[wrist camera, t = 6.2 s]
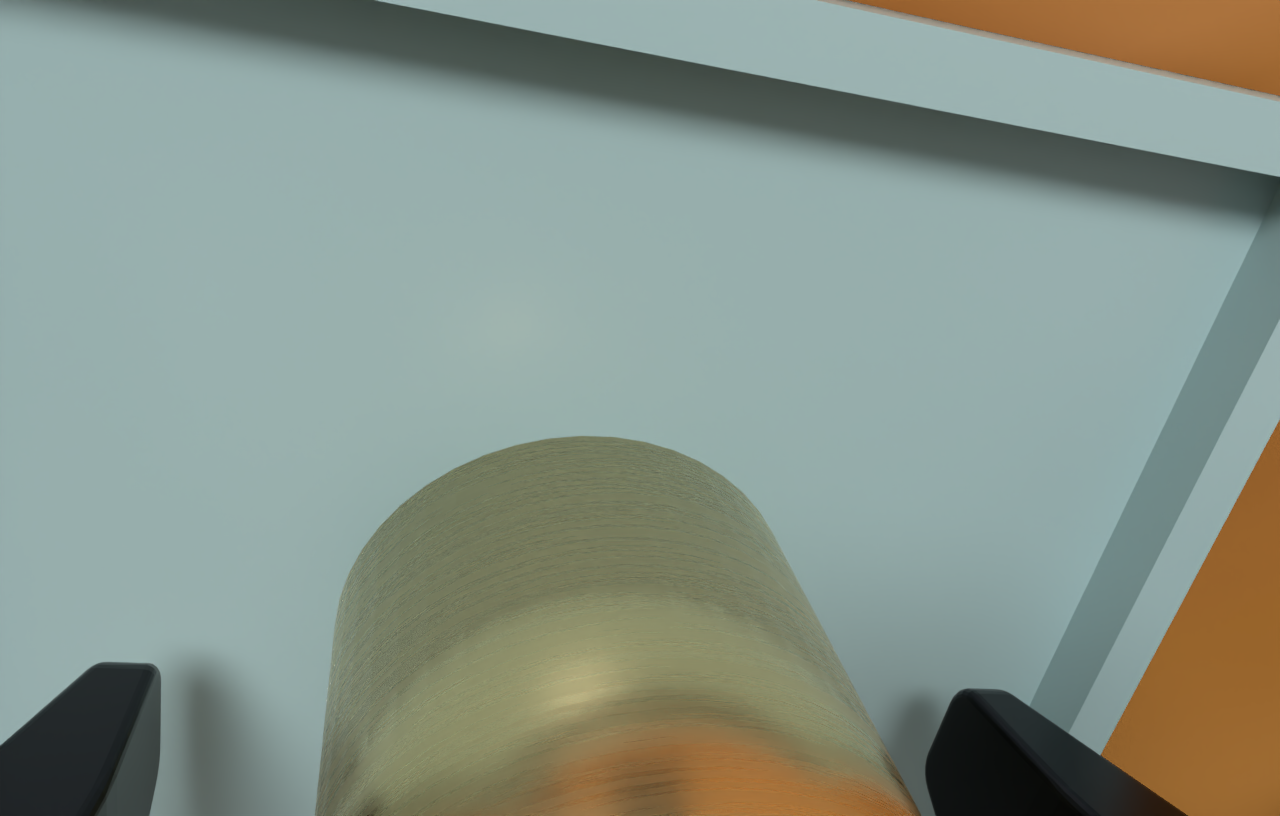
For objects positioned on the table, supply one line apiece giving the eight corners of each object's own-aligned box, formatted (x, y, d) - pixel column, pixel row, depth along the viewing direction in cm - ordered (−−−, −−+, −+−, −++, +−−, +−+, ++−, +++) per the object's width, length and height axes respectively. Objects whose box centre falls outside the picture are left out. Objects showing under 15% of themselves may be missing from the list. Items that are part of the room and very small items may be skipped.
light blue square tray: (1328, 106, 9) (1431, 134, 8) (909, 970, 13) (943, 1047, 12) (-238, -238, 6) (-353, -255, 5) (-67, 1017, 10) (-112, 1122, 10)
